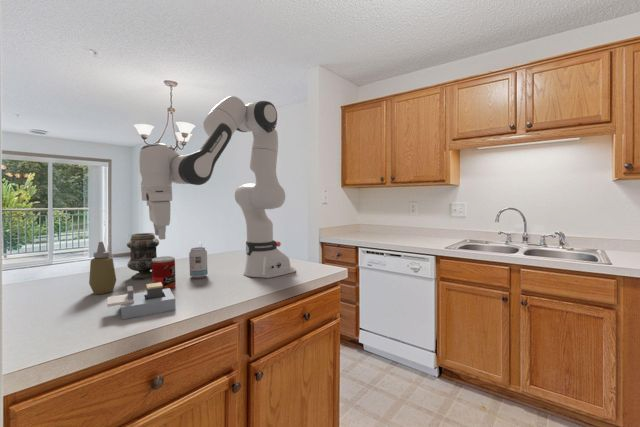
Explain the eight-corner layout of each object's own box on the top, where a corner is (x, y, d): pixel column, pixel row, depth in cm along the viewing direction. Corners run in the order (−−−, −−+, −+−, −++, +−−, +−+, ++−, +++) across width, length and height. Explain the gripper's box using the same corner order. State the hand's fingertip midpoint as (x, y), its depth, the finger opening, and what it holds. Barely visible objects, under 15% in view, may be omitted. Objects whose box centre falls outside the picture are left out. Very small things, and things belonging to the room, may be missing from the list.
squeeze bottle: (84, 296, 111) (81, 244, 109) (97, 288, 119) (94, 240, 117) (110, 295, 112) (107, 243, 110) (120, 287, 120) (118, 239, 118)
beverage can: (210, 275, 137) (209, 247, 136) (202, 279, 131) (201, 250, 130) (195, 274, 139) (194, 246, 138) (186, 278, 132) (185, 249, 131)
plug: (161, 303, 104) (161, 282, 103) (163, 307, 100) (162, 285, 100) (147, 306, 102) (146, 284, 101) (148, 310, 98) (147, 287, 98)
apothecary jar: (162, 271, 143) (160, 231, 142) (159, 278, 132) (157, 235, 130) (131, 274, 139) (129, 232, 138) (125, 281, 128) (122, 236, 126)
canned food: (167, 291, 116) (165, 261, 115) (147, 290, 118) (146, 260, 117) (180, 285, 123) (179, 256, 123) (161, 283, 125) (160, 255, 124)
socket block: (169, 298, 109) (169, 288, 108) (175, 309, 99) (175, 298, 98) (121, 306, 101) (120, 295, 101) (121, 319, 91) (121, 307, 91)
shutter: (133, 295, 101) (132, 285, 100) (134, 302, 95) (133, 291, 94) (107, 299, 97) (107, 288, 97) (107, 306, 91) (106, 295, 91)
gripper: (143, 194, 111) (146, 233, 112) (149, 196, 94) (152, 243, 95) (163, 193, 114) (165, 232, 116) (173, 195, 97) (176, 240, 99)
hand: (160, 237), depth 105 cm, fingers open, 8 cm apart
